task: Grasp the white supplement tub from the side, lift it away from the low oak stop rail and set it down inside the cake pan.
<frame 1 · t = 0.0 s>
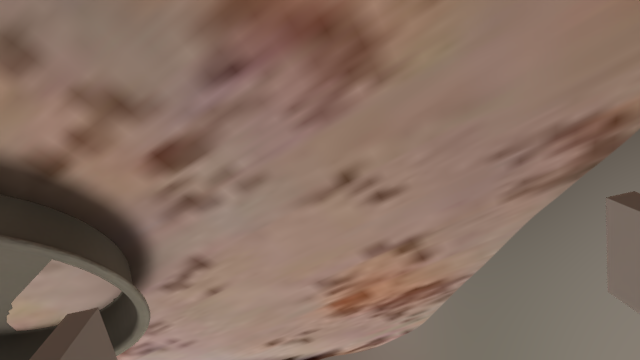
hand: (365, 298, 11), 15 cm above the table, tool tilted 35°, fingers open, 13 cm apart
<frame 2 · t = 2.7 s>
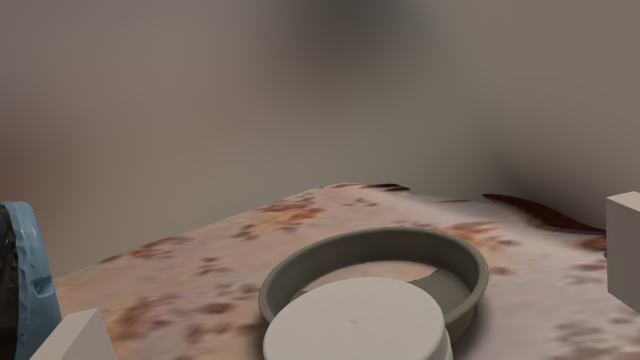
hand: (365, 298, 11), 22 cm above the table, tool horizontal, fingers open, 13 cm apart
cake pan: (375, 308, 50), on the table
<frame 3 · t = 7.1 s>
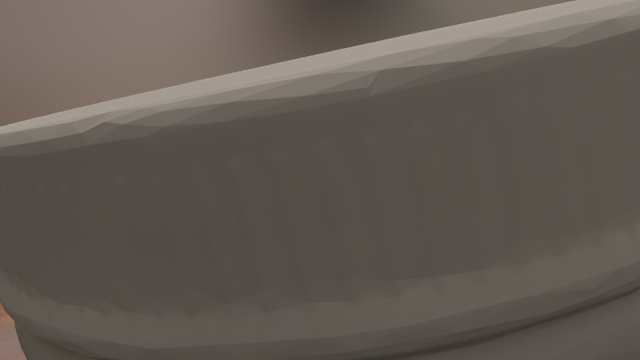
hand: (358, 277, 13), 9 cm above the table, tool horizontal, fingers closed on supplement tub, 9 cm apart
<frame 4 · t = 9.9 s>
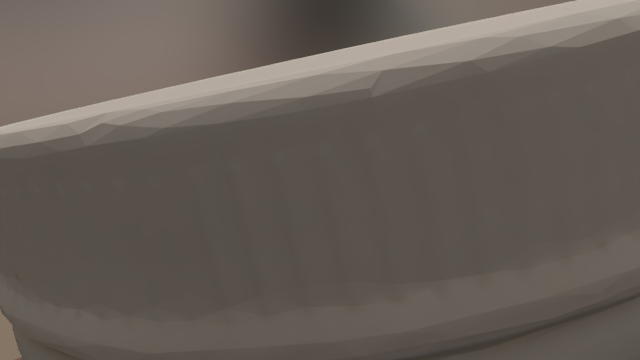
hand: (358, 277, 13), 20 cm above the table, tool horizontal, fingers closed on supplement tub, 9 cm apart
when the fingers open (12 cm above the table, at t = 12.8 s): supplement tub stays where it is, resting on cake pan.
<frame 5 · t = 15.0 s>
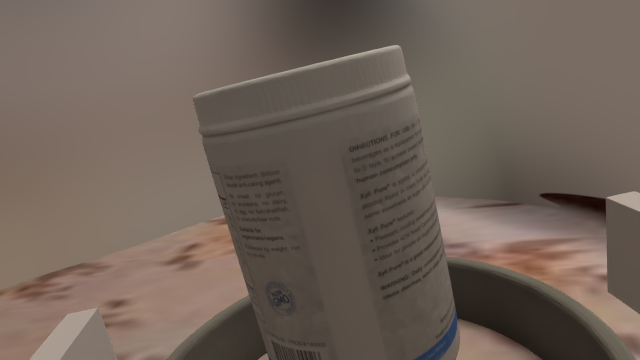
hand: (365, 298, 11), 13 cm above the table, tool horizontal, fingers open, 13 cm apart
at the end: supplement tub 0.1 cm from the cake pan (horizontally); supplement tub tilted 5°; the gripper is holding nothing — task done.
